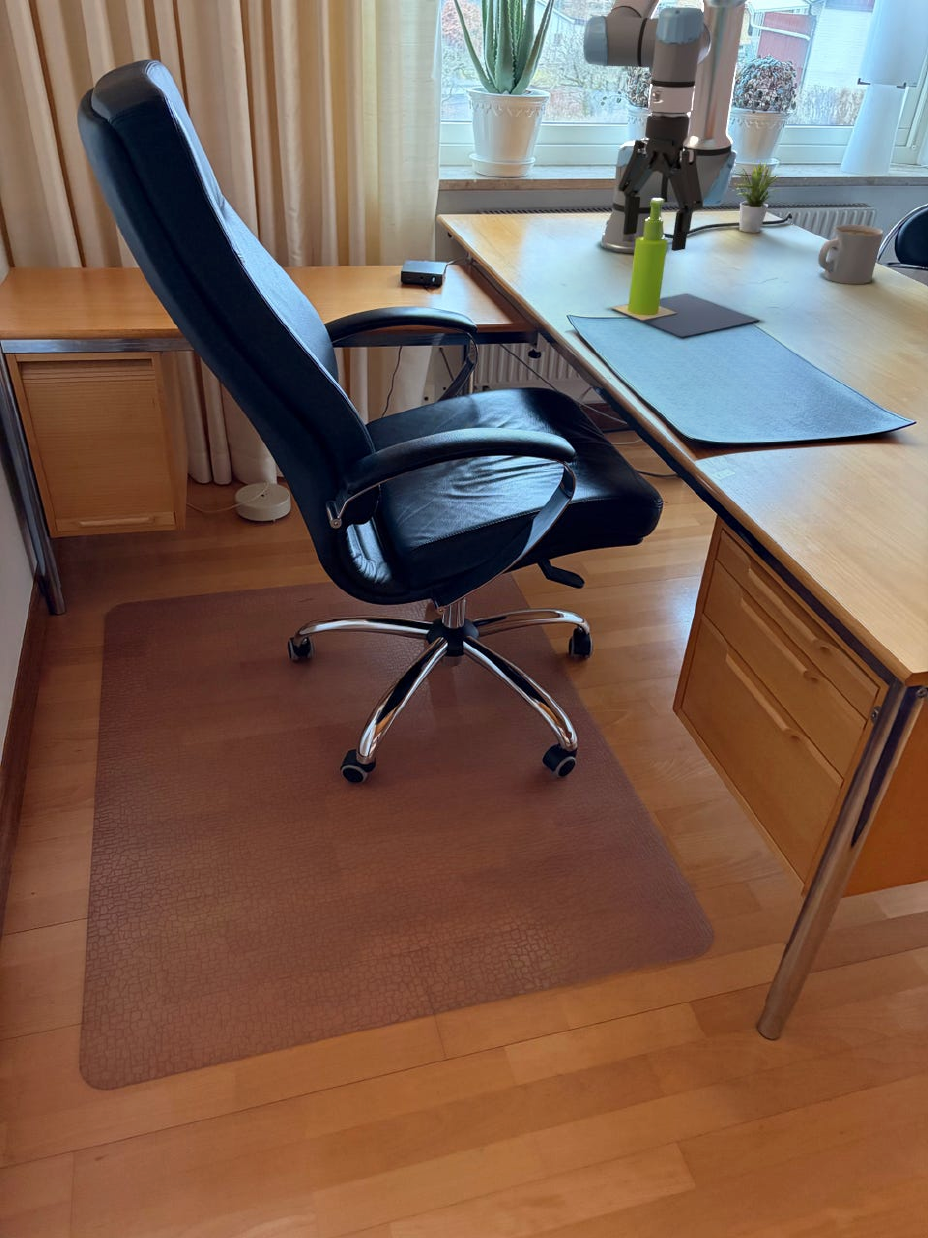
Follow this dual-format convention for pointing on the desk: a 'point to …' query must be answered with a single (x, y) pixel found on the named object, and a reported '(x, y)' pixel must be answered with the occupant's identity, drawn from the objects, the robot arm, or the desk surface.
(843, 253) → the coffee mug
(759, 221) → the house plant
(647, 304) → the soap dispenser
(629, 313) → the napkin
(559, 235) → the desk surface
